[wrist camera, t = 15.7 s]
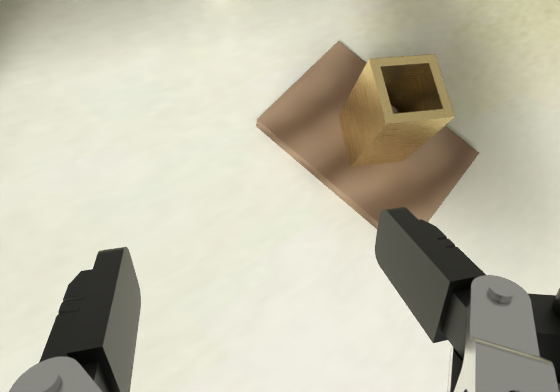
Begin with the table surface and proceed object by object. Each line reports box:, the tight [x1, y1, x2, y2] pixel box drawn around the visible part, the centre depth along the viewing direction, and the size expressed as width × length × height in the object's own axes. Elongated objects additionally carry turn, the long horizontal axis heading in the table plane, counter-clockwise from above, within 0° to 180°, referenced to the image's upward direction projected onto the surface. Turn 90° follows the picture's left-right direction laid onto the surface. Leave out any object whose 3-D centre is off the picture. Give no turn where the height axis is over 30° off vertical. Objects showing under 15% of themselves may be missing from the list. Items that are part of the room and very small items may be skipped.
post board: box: [256, 41, 479, 229], centre depth 38 cm, size 20×14×7 cm
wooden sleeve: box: [339, 54, 455, 167], centre depth 35 cm, size 6×6×10 cm
